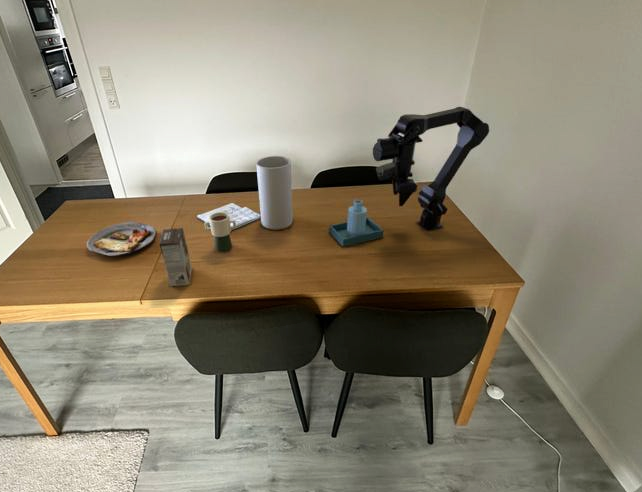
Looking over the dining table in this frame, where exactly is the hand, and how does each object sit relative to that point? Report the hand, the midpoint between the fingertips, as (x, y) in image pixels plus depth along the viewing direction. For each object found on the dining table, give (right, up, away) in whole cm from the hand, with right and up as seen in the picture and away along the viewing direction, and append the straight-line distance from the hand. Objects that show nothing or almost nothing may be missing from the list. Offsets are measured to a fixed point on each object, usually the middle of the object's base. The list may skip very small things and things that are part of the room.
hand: (397, 200), depth 132 cm
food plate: (-101, -14, +13) cm, 103 cm away
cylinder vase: (-42, -6, +19) cm, 46 cm away
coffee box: (-74, -27, -8) cm, 79 cm away
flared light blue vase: (-13, -11, +7) cm, 19 cm away
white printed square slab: (-62, -4, +24) cm, 67 cm away
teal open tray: (-13, -12, +7) cm, 19 cm away
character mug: (-62, -17, +5) cm, 64 cm away
